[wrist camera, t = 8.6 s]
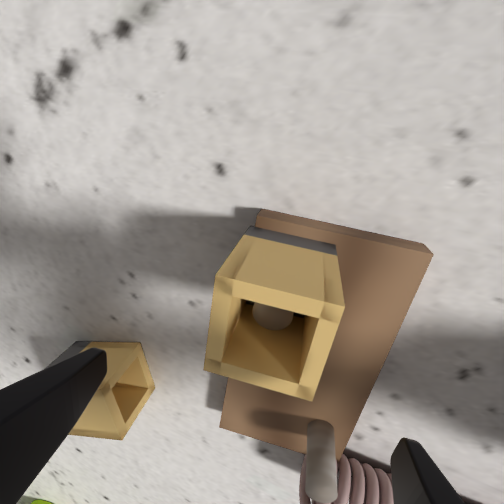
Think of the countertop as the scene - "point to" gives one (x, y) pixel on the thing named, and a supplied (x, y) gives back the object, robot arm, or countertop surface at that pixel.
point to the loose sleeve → (281, 296)
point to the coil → (355, 484)
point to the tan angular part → (114, 390)
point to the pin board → (332, 348)
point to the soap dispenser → (40, 502)
